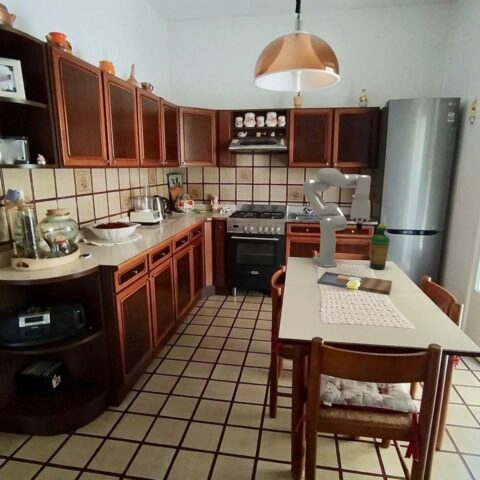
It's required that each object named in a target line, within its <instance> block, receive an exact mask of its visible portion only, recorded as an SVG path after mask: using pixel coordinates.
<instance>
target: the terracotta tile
mask: <svg viewBox="0 0 480 480" xmlns="http://www.w3.org/2000/svg"><path fill="white" fill-rule="evenodd" d="M344 275H345V274H344ZM344 275H338V277H337V282H339V283H345V284H347V283H348V279H349V278H350V276H344Z"/></svg>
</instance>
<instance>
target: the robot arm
mask: <svg viewBox="0 0 480 480" xmlns="http://www.w3.org/2000/svg"><path fill="white" fill-rule="evenodd" d="M371 180H372V177H371V176H370V175H367V174H357V173H356V174H355V173H354V174H353V173H352V174H351V173H350V174H348V173H344V174H343V173H342V172H341V171H340V170H338V169H337V168H332V167H330V168H329V167H326V168H325V167H323V168H320V169H319V170H317V171H316V178H309V179H308V178H307V179H306V180H305V181H304V182H303V184H302V192H303V195H304V196H305V198H306V200H307V201H308V202H309V204H310V206H311V208H312V209H313V212H314V213H315V214H316V216H317V217H318V218H319V219H320V221H319V228H320V242H319V256H313V257H312V260H313V261H316V265H317V266H320V267H323V268H334V267H336V266H337V262H336V261H335V259H336V257H335V256H336V246H337V245H336V242H337V236H336V234H335V232H334V231H342V230H345V229H346V228H347V226H348V221H347V219H346V217H345V215H344V213H343V212H342V210H341V208H340V207H339V205H338V204H337V203H334V202H325V200H324V199H323V196H321V195H320V194H319V193H318V192H326V191H328V190H329V189H330V188H331V187H333V186H335V187H338V188H343V189H348V188H349V189H350V188H351V189H354V188H355V189H354V190H355V191H354V194H353V195H351V198H352V202H351V207H350V217H349V219H350V220H352V221H354V222H355V224H356V226H355V228H356V231H359V232H361V230H362V229H363V224H364V223H365V222H368V221H371V200H370V191H371Z"/></svg>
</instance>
